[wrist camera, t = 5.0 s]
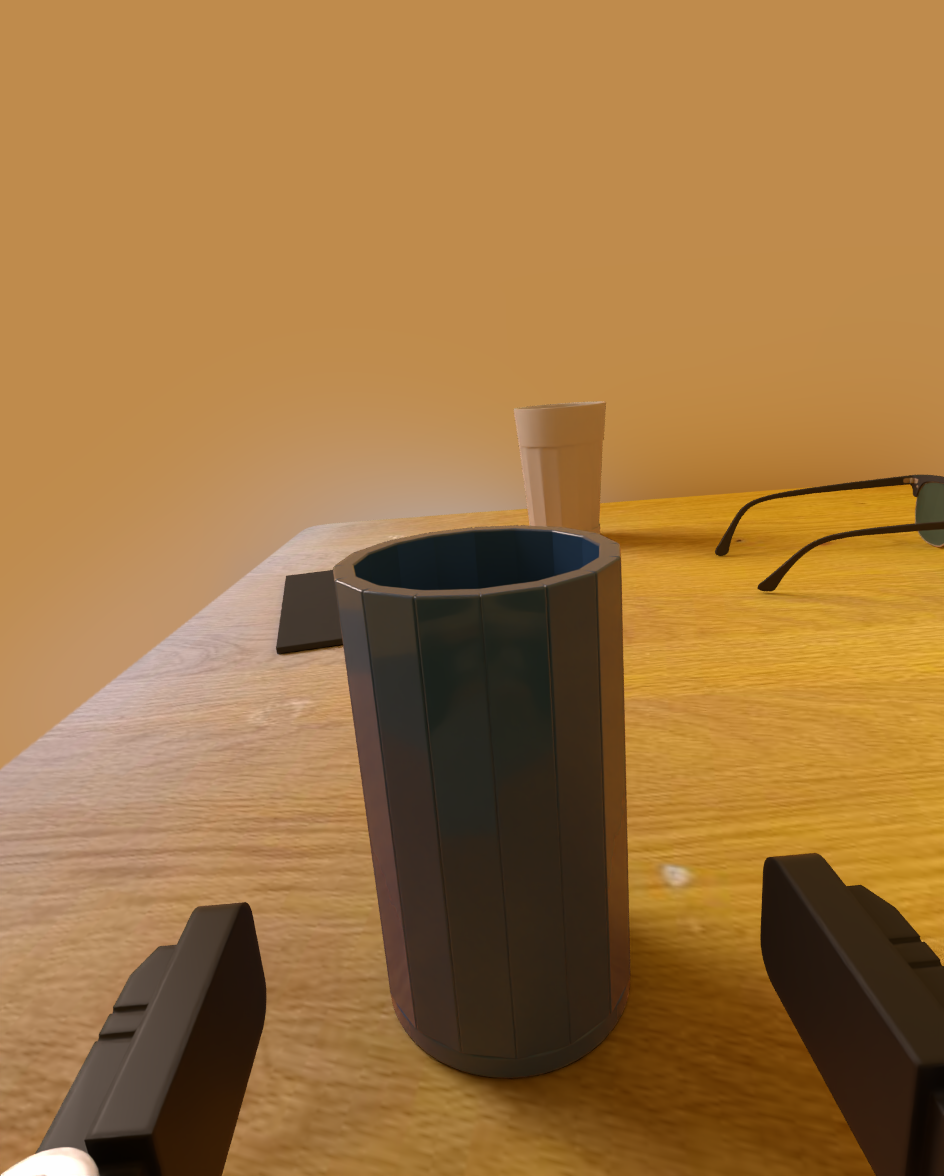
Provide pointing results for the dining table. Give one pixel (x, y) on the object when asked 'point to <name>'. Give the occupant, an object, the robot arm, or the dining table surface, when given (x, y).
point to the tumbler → (494, 787)
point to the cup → (562, 463)
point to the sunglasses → (936, 520)
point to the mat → (309, 613)
